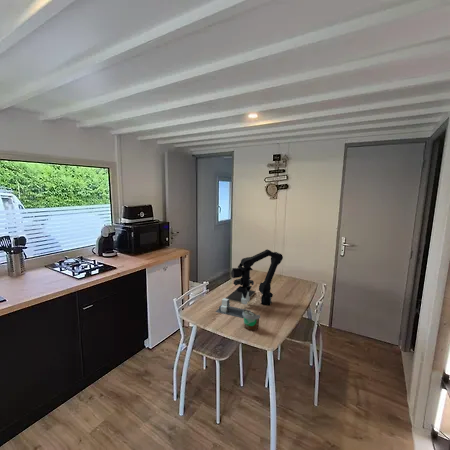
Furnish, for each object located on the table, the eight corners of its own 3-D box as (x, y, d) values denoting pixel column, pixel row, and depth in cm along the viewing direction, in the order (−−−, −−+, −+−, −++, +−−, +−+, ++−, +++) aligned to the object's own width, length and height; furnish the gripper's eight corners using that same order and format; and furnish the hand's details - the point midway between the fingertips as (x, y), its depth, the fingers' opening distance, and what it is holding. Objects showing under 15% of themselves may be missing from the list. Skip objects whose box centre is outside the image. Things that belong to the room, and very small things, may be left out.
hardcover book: (255, 293, 208) (255, 291, 208) (244, 305, 188) (244, 302, 188) (237, 290, 216) (237, 287, 215) (224, 300, 196) (224, 298, 195)
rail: (251, 311, 177) (251, 308, 177) (245, 319, 167) (245, 315, 166) (222, 305, 187) (222, 302, 186) (215, 312, 176) (215, 309, 175)
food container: (238, 326, 158) (238, 311, 157) (244, 322, 162) (244, 308, 161) (253, 334, 149) (253, 318, 148) (260, 330, 154) (260, 314, 152)
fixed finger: (230, 308, 181) (230, 298, 180) (226, 312, 175) (226, 302, 174) (224, 306, 183) (224, 297, 182) (220, 311, 177) (220, 300, 176)
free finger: (249, 300, 186) (249, 290, 185) (246, 304, 180) (246, 294, 179) (243, 299, 188) (243, 289, 187) (240, 303, 182) (240, 293, 181)
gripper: (240, 271, 193) (239, 290, 195) (229, 278, 176) (229, 300, 178) (254, 273, 188) (253, 293, 190) (245, 281, 171) (244, 303, 174)
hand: (245, 297), depth 183 cm, fingers closed on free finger, 3 cm apart
